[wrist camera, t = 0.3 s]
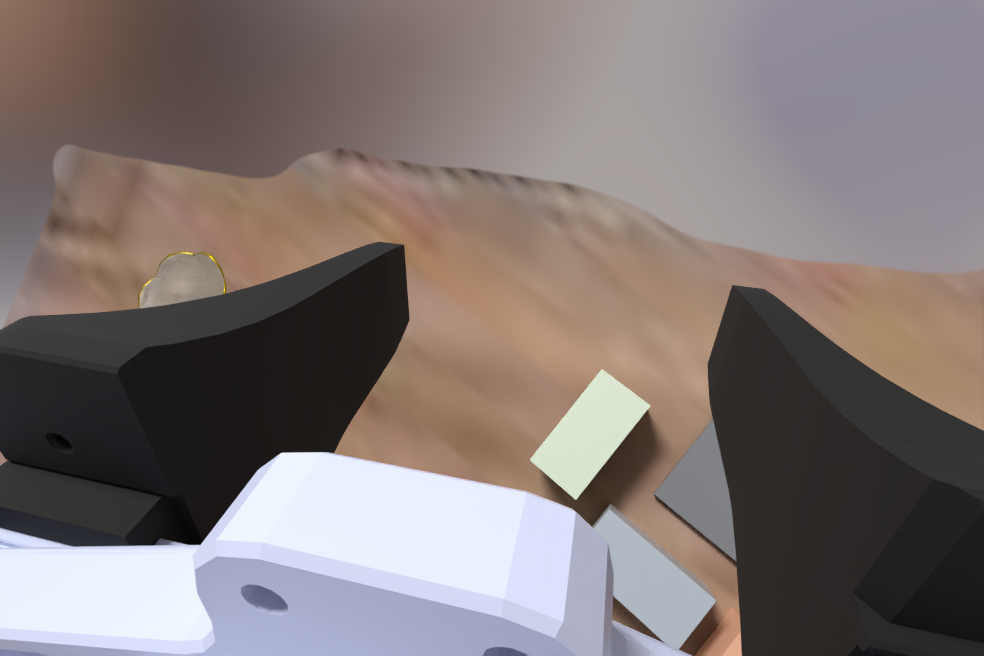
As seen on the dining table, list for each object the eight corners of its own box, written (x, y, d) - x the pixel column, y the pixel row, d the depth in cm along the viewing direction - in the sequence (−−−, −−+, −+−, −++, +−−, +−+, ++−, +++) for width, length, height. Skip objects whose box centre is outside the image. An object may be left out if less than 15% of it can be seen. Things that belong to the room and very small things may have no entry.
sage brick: (603, 376, 41) (602, 368, 37) (647, 409, 39) (650, 405, 36) (538, 458, 41) (529, 459, 37) (580, 494, 39) (575, 500, 36)
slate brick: (706, 584, 36) (716, 600, 32) (669, 631, 36) (675, 653, 32) (610, 503, 39) (609, 509, 35) (575, 546, 39) (571, 557, 35)
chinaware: (265, 248, 52) (107, 144, 37) (305, 402, 46) (135, 351, 31) (39, 373, 55) (-192, 324, 40) (47, 532, 49) (-224, 545, 34)
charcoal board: (1083, 603, 31) (1092, 606, 31) (970, 753, 31) (976, 758, 31) (748, 372, 38) (750, 371, 38) (653, 493, 38) (654, 494, 37)
